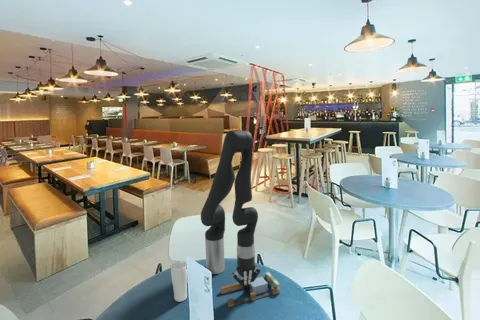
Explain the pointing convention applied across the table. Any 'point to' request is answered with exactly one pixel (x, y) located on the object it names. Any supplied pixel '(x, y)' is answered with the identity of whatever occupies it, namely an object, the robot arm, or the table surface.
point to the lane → (236, 286)
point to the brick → (259, 286)
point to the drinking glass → (179, 280)
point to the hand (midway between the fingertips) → (246, 291)
